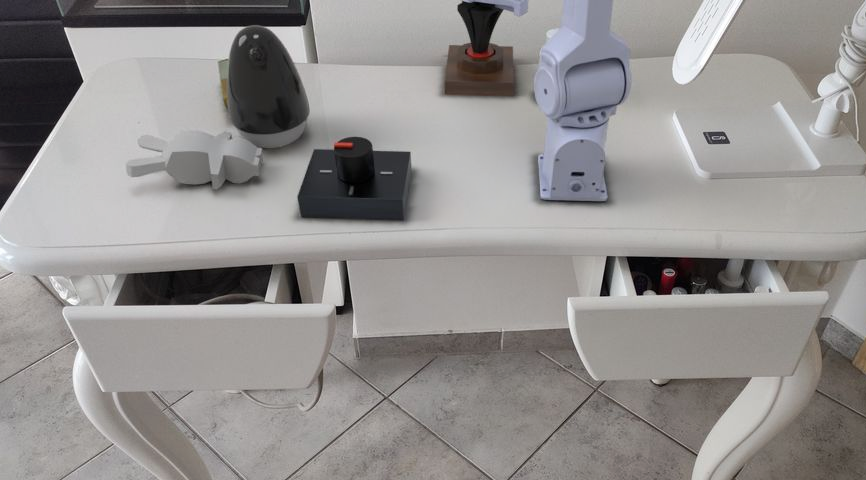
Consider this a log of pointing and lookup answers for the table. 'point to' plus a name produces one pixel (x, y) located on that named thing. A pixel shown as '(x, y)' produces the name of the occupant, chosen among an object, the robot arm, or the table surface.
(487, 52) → the button
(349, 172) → the dial
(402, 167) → the dial panel
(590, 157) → the robot arm
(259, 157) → the bunny figurine
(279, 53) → the black glossy egg shape
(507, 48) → the button box
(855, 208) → the table surface
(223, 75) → the medication box
